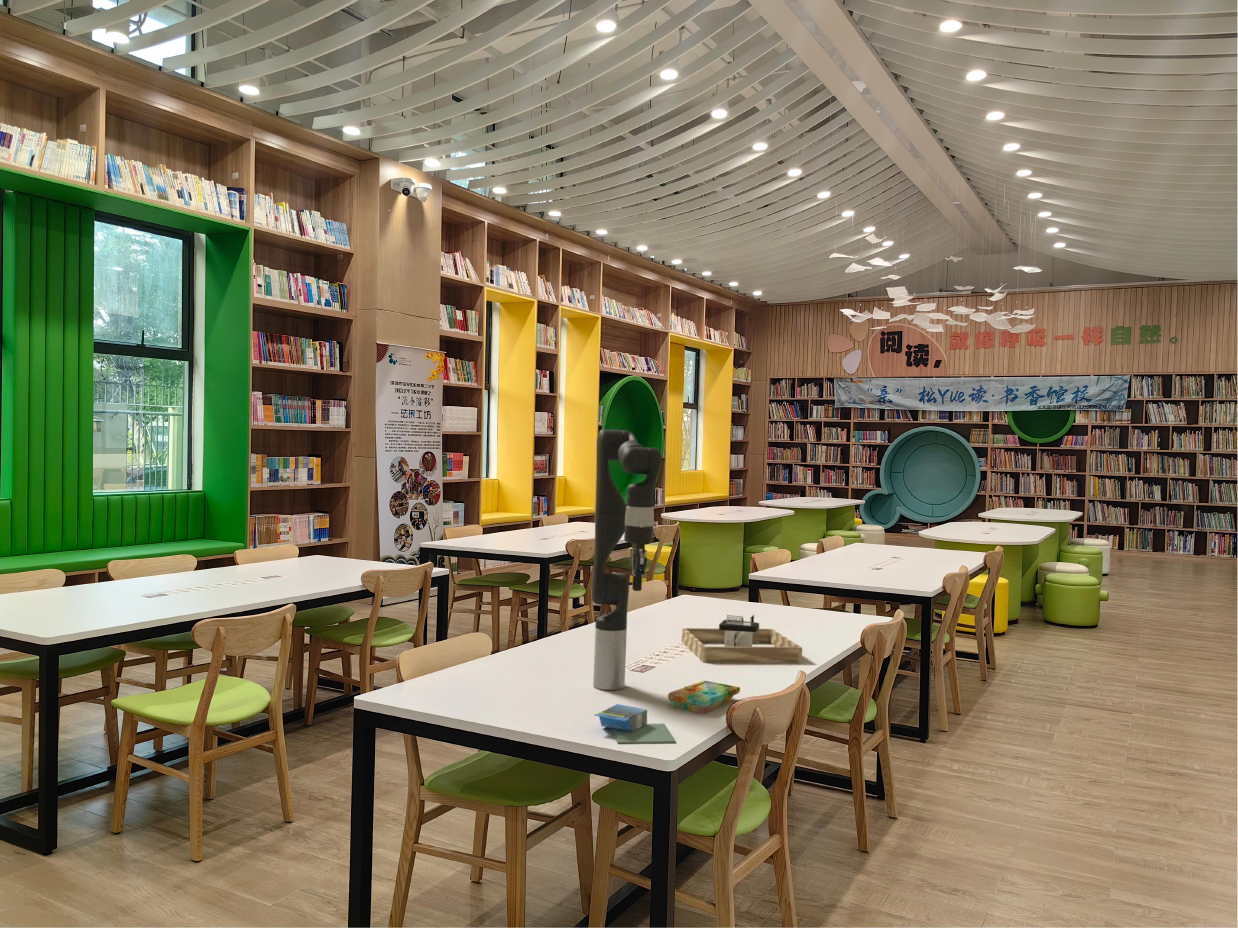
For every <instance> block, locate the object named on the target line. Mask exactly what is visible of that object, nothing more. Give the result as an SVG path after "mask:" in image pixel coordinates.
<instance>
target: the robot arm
mask: <svg viewBox="0 0 1238 928" xmlns="http://www.w3.org/2000/svg"><path fill="white" fill-rule="evenodd" d="M662 456H663V455H662V453H661V451H660V450H659V449H658V448H656V447H644V446H643V445H641V444H640V443H638V440H637V438H636V436H635V434H634V433H633V432H631V431H629V430H622V429H601V430H599V431H598V434H597V438H596V478H597V479H596V501H595V517H594V519H595V520H594V522H595V523H594V557H593V558H594V559H593V567H592V570H593V571H592V579H591V580H592V581H591V599H592V602H593V603H594V605H600V606H603V605H604V606H616V608H615V609H614V610H612V611H610V612H609V613H605V614H602V615H600V616H598V617H597V618H596V619H595V627H594V628H595V629H594V630H595V631H594V632H595V633H594V656H593V657H594V660H593V682H592V683H593V685H592V686H593V687H594V688H595V689H599V690H604V691H617V690H622V689H624V688H625V685H626V683H625V682H626V681H625V680H626V658H627V656H626V655H627V631H628V628H627V627H628V605H629V594H630V579H629V576H628V574H626V573H615V572H614V573H612V572H604V571H605V566H606V563H607V561H608V559H609V558H610V556H611V554H612V552H613V550H614V549H615V547H616V546H617V545H618V543H619V542H620V540H621V539H622V537H623V536H624V539H623V540H624V542H626V543H630V544H631V548H629V561H630V562H629V564H630V571H631V575H632V584H631V585H632V586H631V587H632V590H633V591H634V592H640V591H642V586H643V585H642V583H643V577H644V575H646V574H645V571H646V567H647V561H648V557H647V555H648V551H647V549H646V544H651V543H653V542H654V525H655V521H654V520H655V512H654V501H655V500H654V499H655V497H654V496H655V488H656V483H657V479H658V477H659V473H660V472H661V471H660V470H661V468H662V465H663V457H662ZM610 462H620V463H621V468H622V470H623V472H624V473H626V474H630V475H646V477H645V478H644V480H643V481H641V482H635V483H631V484H629V485H627V488H626V500H625V499H624V497H623V495H622V494H621V492H620V490H619V489H618V487H617V486H616V484H615V481H614V479H613V477H612V474H611V471H610V466H609V465H610V464H609V463H610Z"/></svg>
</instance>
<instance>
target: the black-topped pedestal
mask: <svg viewBox="0 0 1238 928" xmlns="http://www.w3.org/2000/svg"><path fill="white" fill-rule="evenodd" d="M749 619H750V620H749V621H747V620H746V621H744V616H742V615H735V616H734V615H732V614H731V615H730V614H729V615H728V614H726V619H724V620H723V621H722V622H721V621H720V623H718V624H719V625H718V628H719V630H725V641H724V643H723V644H724V645H723V647H753V643H752V636H753V632H756V631H757V630H758V629H760V623H759V622H756V621H755V614H754V613H753V615H752V616H750V617H749ZM754 621H755V622H754Z"/></svg>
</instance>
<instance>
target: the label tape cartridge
mask: <svg viewBox="0 0 1238 928" xmlns="http://www.w3.org/2000/svg"><path fill="white" fill-rule="evenodd" d="M593 716H596V717H598V718H599V721H600V725H601V726H600V727H605V728H610V729H611V728H614V729H620V730H625V731H630V732H633V731H635V730H636V729H638V728H640V727H642V726H644V725H646V724H648V710H647V709H645V708H641V707H635V706H630V705H624V704H620V703H616V704H615V705H613V706H611V707H608V708H607V709H605V710H602V711H600V712H598V713H595V714H593Z"/></svg>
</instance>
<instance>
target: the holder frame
mask: <svg viewBox="0 0 1238 928" xmlns="http://www.w3.org/2000/svg"><path fill="white" fill-rule="evenodd" d="M724 641H725V630H719V627H717V628H707V627H706V628H703V627H697V628H695V627H692V628H691V627H687V628H686V627H684V628H683V627H681V642H683V643H684V644H683V645H684V646H685V647H686V648H687V649H689V651H691V653H693V655H695V656H696V658H697V659H699V661H701V662H702V663H802V660H803V647H802V646H800V645H798V644H797V643H796V642H794V641H792V640H790V639H789V638H788V637H786V636H784V635H783V634H781V633H780V632H778V631H776V630H775V629H773V628H759V629H758V630H757V631H756V632H753V636H752V642H770V643H772V644H773V645H775V646H776V647H775V646H773V645H772V644H771V645H772V646H752V647H724V646H707V645H705V643H702V642H724ZM770 643H769V644H770Z"/></svg>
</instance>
